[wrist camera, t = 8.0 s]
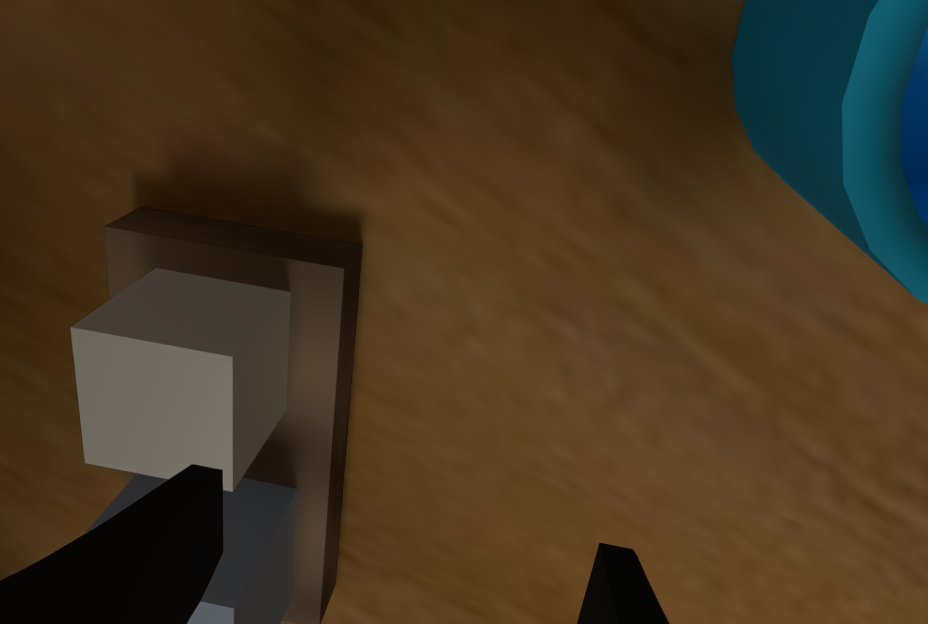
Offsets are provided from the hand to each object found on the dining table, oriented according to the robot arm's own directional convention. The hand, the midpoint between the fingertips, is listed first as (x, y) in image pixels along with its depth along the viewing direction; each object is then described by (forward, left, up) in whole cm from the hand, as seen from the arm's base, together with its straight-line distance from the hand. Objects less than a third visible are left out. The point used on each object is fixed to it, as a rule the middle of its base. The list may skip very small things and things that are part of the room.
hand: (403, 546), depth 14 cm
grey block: (-1, +7, -8) cm, 11 cm away
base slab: (-5, +7, -10) cm, 13 cm away
